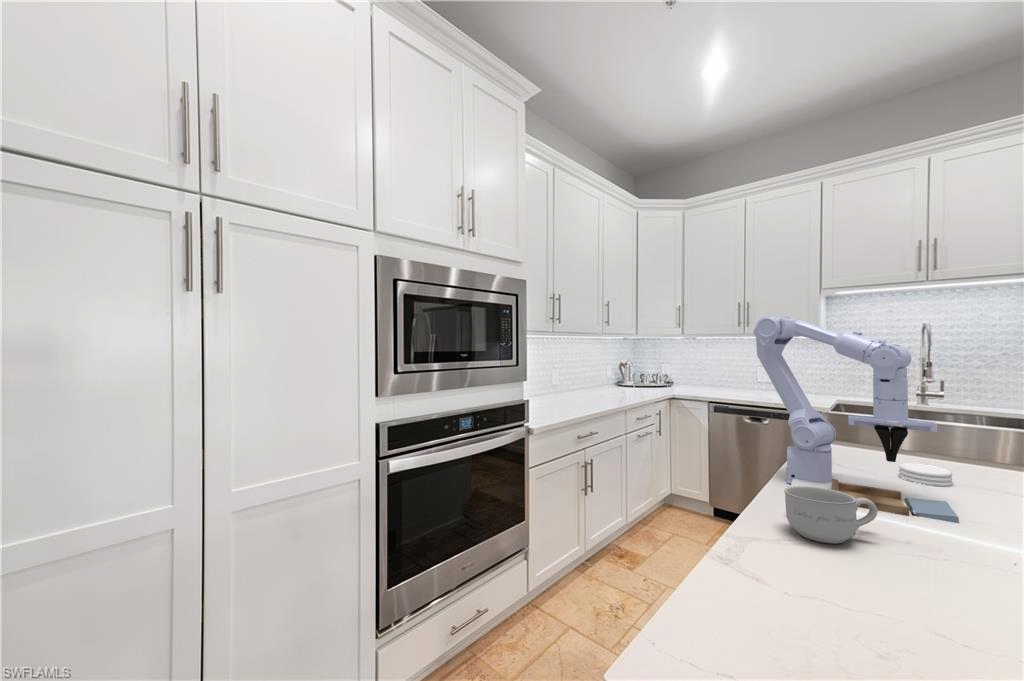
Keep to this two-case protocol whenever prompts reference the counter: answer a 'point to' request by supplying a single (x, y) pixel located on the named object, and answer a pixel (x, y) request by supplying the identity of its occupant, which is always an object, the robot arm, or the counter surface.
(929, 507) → the tailgate
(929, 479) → the coaster
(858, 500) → the teacup
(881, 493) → the wooden tray
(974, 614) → the counter surface
